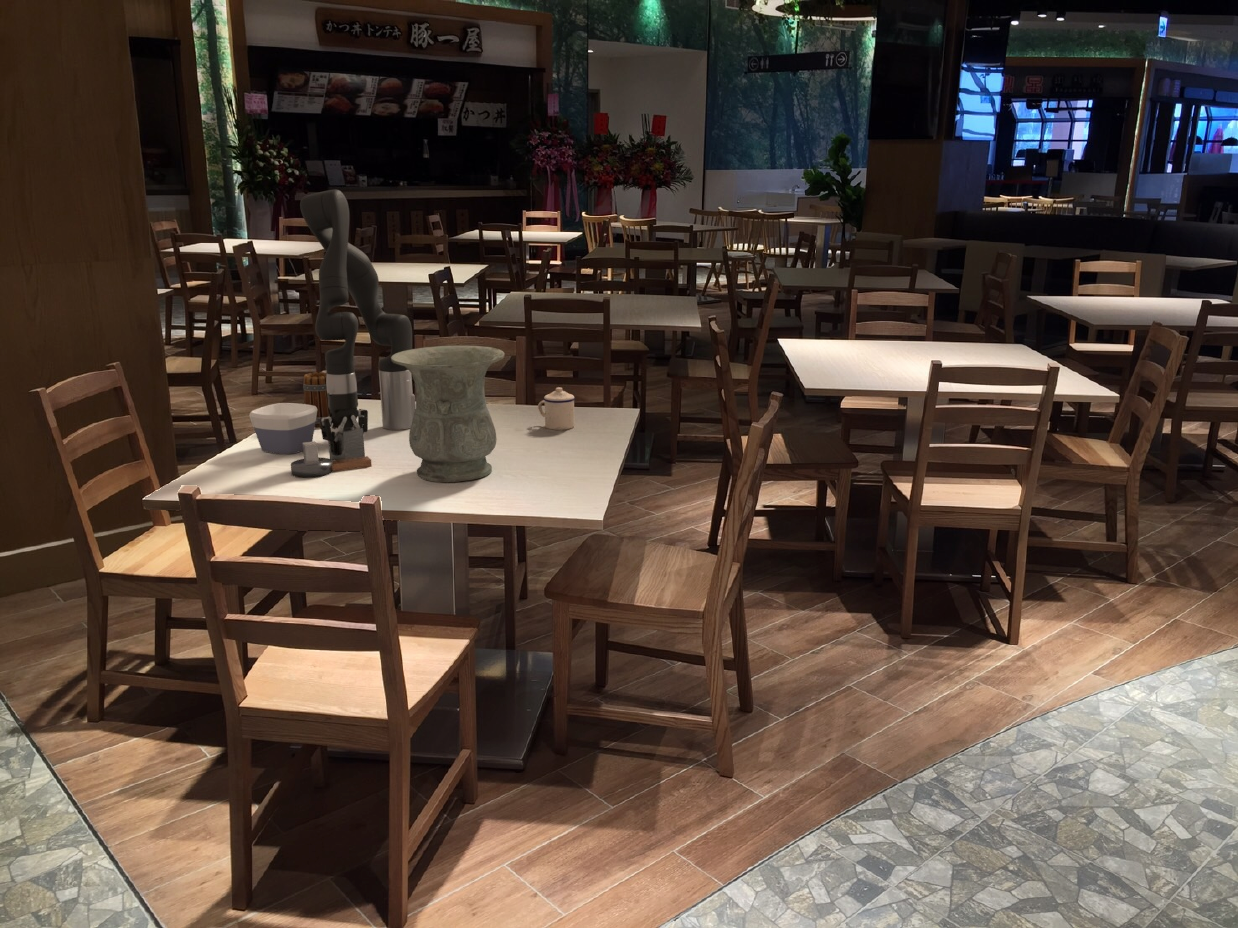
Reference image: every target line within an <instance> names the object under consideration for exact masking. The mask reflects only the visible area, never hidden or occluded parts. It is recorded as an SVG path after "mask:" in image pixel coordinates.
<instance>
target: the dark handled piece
mask: <svg viewBox="0 0 1238 928" xmlns="http://www.w3.org/2000/svg"><path fill="white" fill-rule="evenodd" d="M302 444H303V451H302V453H303V454H302V455H303V458H300V459H297V460H294V461H292V462H290V472H291V473H290V474H291V476H292V475H293V477H294V476H295V478H300V479H312V478H321V477H325V476H328V475H331V474H332V473H333V472H339V471H345V470H347V471H349V470H354V469H360V468H361V469H362V468H363V469H364V468H369V467H372V459H371V458H370V457H369V456H368V455H365V457H358V458H350V459H343V460H332V459H330V458H329V457H328V458H326V457H321V456H320V457H319V448H318V443H317V442H316V441H314V440H312V442H305V443H302Z"/></svg>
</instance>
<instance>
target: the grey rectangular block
mask: <svg viewBox="0 0 1238 928" xmlns="http://www.w3.org/2000/svg"><path fill="white" fill-rule="evenodd" d="M337 429H338V428H336V430H337ZM334 435H335V432H334ZM338 436H339V439H338V442H339V451H340V455H338V456H335V455H333V454H332V453H331V447H330V441H328V440H327V441H328V453H329V454H328V455H329V459H331V460H332V461H335V460H343V459H350V458H358V457H366V452H365V440H364V439H365V437H364V433H363V428H360V427H359V428H354V427H351V428H346V429H343V431H342V432H339V434H338Z"/></svg>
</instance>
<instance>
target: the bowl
mask: <svg viewBox="0 0 1238 928" xmlns="http://www.w3.org/2000/svg"><path fill="white" fill-rule="evenodd" d="M317 410H318V409H317V408H316V406H313V405H307V404H304V403H295V402H294V403H293V402H291V403H289V402H281V403H280V402H278V403H274V404H273V403H272V404H268V405H264V406H262V407H258V408H255V409H253V410H251V411H250V412H249V419H250V422H251V425H252V428H253V430H254V433H255V435H256V438H257V440H258V443H259V446H260V449H261V451H262V452H264V453H270V454H276V455H293V454H296V453H300V452H303V444H302V443H305V442H313V441H314V434H315V421H316V416H317Z"/></svg>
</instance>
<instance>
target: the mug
mask: <svg viewBox="0 0 1238 928" xmlns="http://www.w3.org/2000/svg"><path fill="white" fill-rule="evenodd" d="M326 378H327V373H326V370H322V371H320V372H319V373H318V372H316V371H315V372H312V373H311V372H310V373H306V374H304V376H303V383H302V386H303V387H302V390H303V401H304V402H303V404H307V405H313V406H316V408H317V409H318V410H317V416H316V421H315V428H316V429H317V428H319V429H321V426H320V418H326V417H329V415H330V409H329V407H328V397H327V385H326ZM331 425H332V422H331ZM331 425H330V427H331ZM315 428H314V429H315Z"/></svg>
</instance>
